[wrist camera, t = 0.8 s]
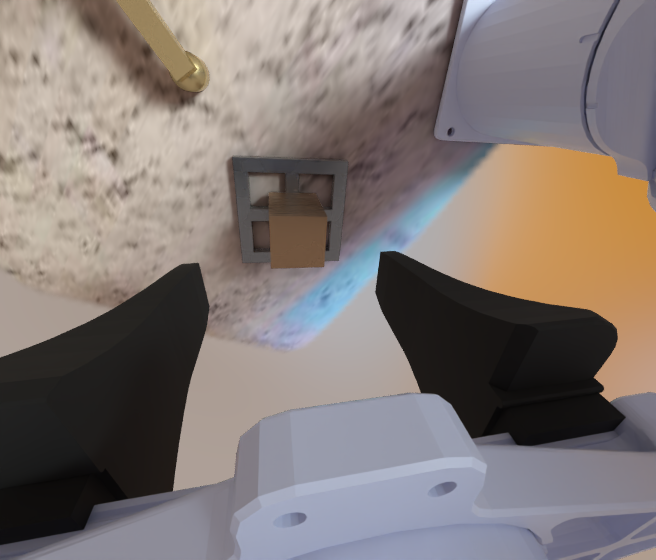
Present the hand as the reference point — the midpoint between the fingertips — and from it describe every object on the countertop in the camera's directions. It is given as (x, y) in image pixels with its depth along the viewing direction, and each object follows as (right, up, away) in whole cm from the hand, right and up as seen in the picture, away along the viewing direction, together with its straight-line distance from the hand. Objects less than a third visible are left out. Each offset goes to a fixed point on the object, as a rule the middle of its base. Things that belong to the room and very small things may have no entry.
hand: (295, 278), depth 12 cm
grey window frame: (-1, +5, +8) cm, 9 cm away
